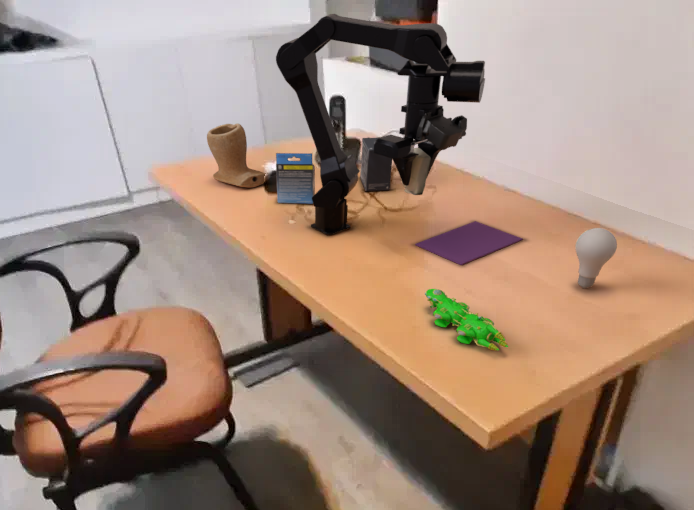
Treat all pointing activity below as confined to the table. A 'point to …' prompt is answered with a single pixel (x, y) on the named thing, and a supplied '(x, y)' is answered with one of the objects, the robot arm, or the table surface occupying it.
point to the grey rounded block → (418, 173)
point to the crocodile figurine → (464, 321)
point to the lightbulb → (593, 254)
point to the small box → (374, 168)
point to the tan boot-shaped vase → (232, 156)
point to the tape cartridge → (295, 178)
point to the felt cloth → (468, 242)
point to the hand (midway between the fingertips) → (414, 182)
